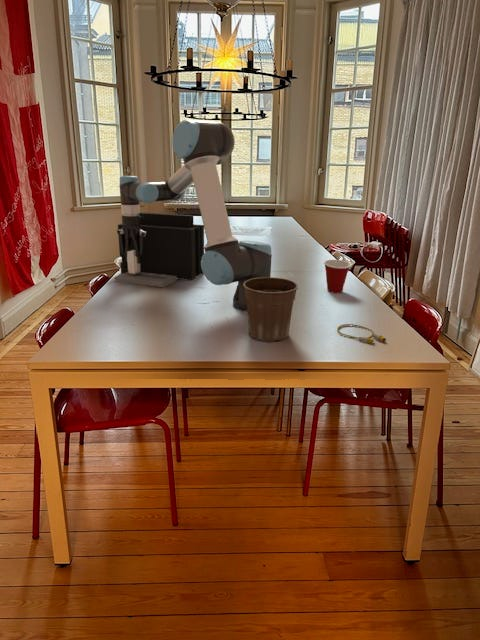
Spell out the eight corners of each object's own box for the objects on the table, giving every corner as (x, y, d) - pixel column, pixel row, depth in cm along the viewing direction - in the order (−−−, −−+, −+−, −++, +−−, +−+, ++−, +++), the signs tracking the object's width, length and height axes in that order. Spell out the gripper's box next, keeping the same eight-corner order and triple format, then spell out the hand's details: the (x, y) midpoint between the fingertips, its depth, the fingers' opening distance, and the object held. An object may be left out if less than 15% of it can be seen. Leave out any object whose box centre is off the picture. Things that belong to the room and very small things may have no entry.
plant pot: (290, 348, 132) (293, 294, 127) (235, 341, 136) (236, 288, 131) (298, 328, 147) (302, 279, 142) (249, 323, 151) (251, 275, 146)
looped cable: (347, 346, 135) (348, 340, 135) (331, 327, 150) (332, 321, 150) (387, 345, 137) (388, 339, 136) (367, 326, 152) (368, 321, 151)
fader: (133, 275, 197) (132, 252, 194) (127, 274, 198) (126, 251, 195) (140, 272, 202) (139, 250, 199) (135, 272, 203) (133, 249, 200)
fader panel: (163, 287, 190) (162, 282, 189) (115, 281, 197) (114, 276, 196) (176, 280, 200) (176, 275, 199) (130, 275, 207) (130, 270, 207)
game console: (121, 273, 211) (116, 213, 202) (152, 260, 238) (149, 206, 229) (192, 280, 201) (191, 218, 192) (216, 265, 229) (216, 210, 220)
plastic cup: (328, 296, 182) (331, 266, 178) (317, 288, 192) (319, 260, 188) (353, 294, 185) (356, 264, 181) (340, 287, 195) (343, 259, 191)
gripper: (152, 215, 192) (155, 270, 200) (119, 212, 197) (123, 266, 205) (143, 217, 186) (145, 274, 194) (109, 214, 191) (113, 270, 199)
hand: (134, 270), depth 199 cm, fingers closed on fader, 3 cm apart
